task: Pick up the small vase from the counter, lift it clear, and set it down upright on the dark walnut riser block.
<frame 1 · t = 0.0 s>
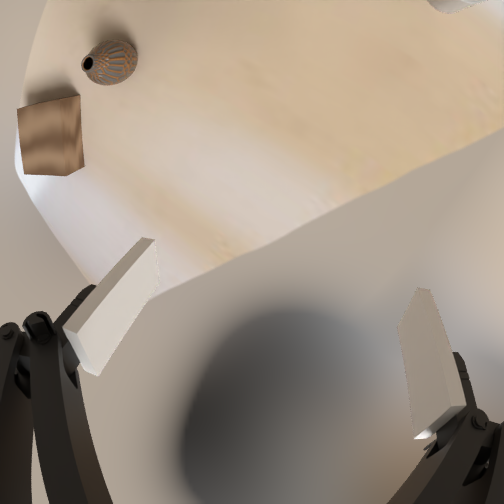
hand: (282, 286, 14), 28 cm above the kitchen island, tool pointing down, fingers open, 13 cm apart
vase: (126, 62, 34), on the kitchen island
walnut riser: (57, 133, 42), on the kitchen island
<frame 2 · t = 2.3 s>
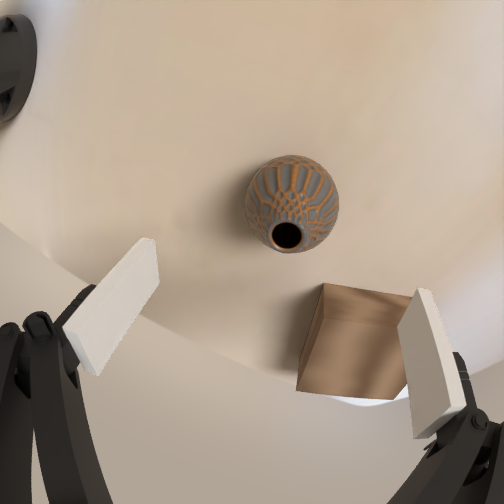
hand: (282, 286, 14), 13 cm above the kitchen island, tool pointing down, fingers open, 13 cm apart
vase: (295, 185, 25), on the kitchen island
walnut riser: (363, 333, 32), on the kitchen island
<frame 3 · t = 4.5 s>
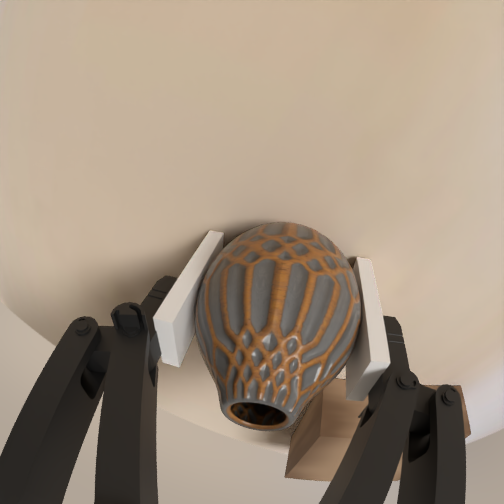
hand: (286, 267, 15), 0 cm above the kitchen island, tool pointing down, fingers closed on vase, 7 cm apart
vase: (288, 260, 16), on the kitchen island, touching gripper
walnut riser: (370, 419, 23), on the kitchen island
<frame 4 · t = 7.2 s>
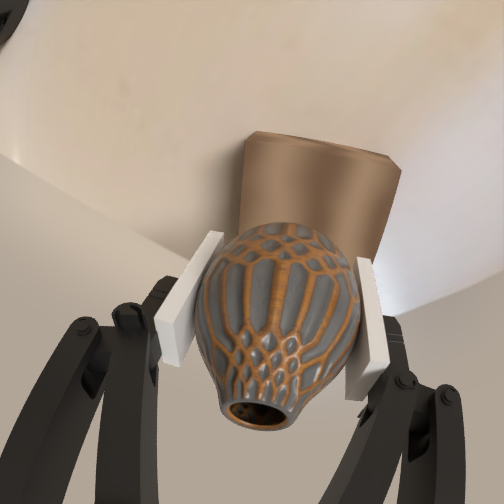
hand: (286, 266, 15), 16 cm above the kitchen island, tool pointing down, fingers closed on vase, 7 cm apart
vase: (287, 260, 16), point 15 cm above the kitchen island, touching gripper
walnut riser: (312, 202, 30), on the kitchen island
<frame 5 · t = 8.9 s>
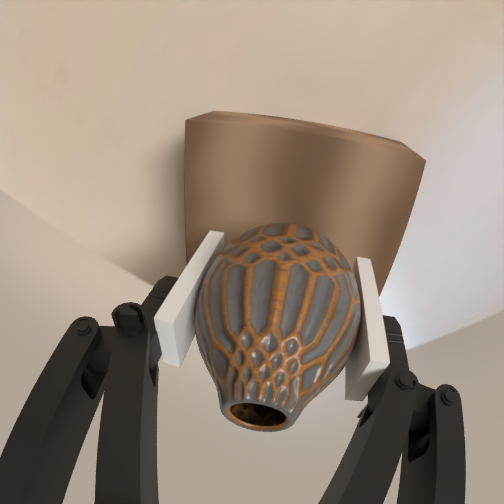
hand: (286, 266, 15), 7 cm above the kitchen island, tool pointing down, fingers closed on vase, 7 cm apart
vase: (288, 261, 16), point 7 cm above the kitchen island, touching gripper
walnut riser: (295, 208, 21), on the kitchen island
when the fingers open (6 cm above the kitchen island, at t = 9.9 s): vase drops 1 cm, resting on walnut riser.
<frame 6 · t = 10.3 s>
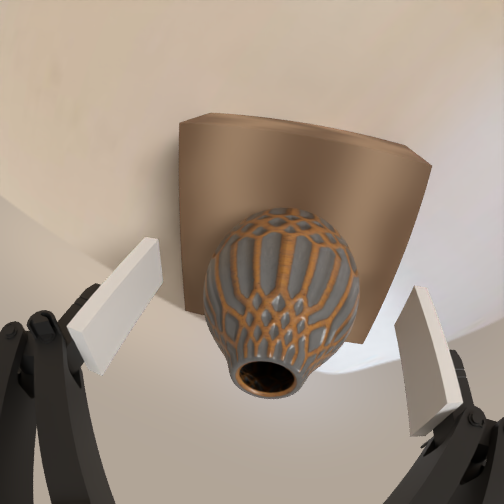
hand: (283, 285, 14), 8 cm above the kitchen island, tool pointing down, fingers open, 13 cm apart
vase: (288, 248, 17), point 5 cm above the kitchen island, touching walnut riser
walnut riser: (295, 214, 21), on the kitchen island
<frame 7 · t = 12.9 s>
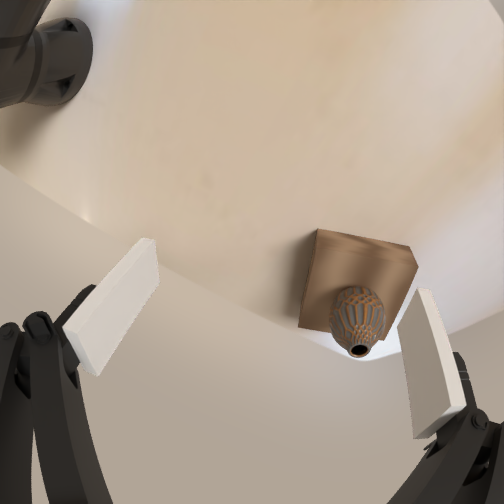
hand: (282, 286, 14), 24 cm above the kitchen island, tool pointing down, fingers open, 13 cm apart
vase: (355, 298, 36), point 5 cm above the kitchen island, touching walnut riser
walnut riser: (353, 277, 40), on the kitchen island
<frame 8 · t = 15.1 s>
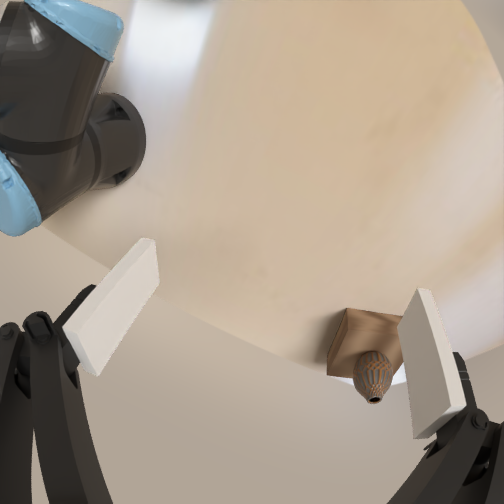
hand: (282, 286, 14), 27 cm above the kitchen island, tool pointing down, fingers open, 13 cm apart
vase: (371, 357, 46), point 5 cm above the kitchen island, touching walnut riser
walnut riser: (369, 338, 50), on the kitchen island
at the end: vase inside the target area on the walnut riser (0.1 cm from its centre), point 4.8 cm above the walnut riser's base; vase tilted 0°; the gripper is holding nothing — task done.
